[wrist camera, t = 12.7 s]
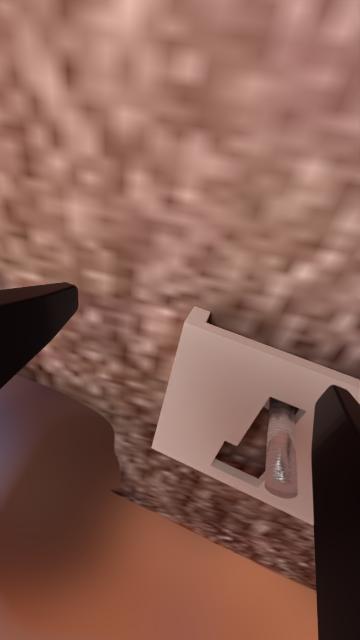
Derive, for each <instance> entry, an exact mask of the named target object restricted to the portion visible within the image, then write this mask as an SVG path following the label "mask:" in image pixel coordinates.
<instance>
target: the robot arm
mask: <svg viewBox="0 0 360 640" xmlns="http://www.w3.org/2000/svg"><path fill="white" fill-rule="evenodd" d="M78 305H79V304H78V289H77V287H76V286H75V285H72V284H70V283H67V282H63V283H54V284H46V285H38V286H30V287H21V288H13V289H5V290H0V389H1V388H2V387H3V386H4V385H5V384H6V383H7V382H8V381H9V380H10V379H11V378H12V377H13V376H14V375H16V374H17V373H18V372H19V371H20V370H21V369H22V368H23V367H24V366H25V365H26V364H27V363H28V362H29V361H30V360H31V359H32V358H33V357H34V356H36V355H37V354H38V353H39V352H40V351H41V350H42V349H43V348H44V347H45V346H46V345H47V344H48V343H49V342H50V341H51V340H52V339H53V338H54V337H55V336H56V334H57V333H58V332H59V331H60V330H61V329H62V327H63V326H64V325H65V324H66V323H67V322H68V320H69V319H70V318H71V317H72V316H73V315H74V313H75V312H76V311H77V309H78ZM311 467H312V491H313V516H314V541H315V565H316V590H317V615H318V638H319V639H318V640H360V404H359V403H358V402H357V400H356V399H355V398H354V397H353V396H352V395H351V393H350V392H349V391H348V390H346V389H344V388H342V387H339V386H337V385H330V386H329V387H328V388H327V389H326V391H325V392H324V393H323V394H322V395H321V396H320V398H319V399H318V400H317V402H316V404H315V409H314V422H313V434H312V446H311Z"/></svg>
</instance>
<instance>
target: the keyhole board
mask: <svg viewBox="0 0 360 640" xmlns="http://www.w3.org/2000/svg"><path fill="white" fill-rule="evenodd" d="M209 315H210V311H207V310H204V309H201V308H199V307H196V306H194V308H193V309H192V311H191V312H190V314H189V316H188V317H187V319H186V320H185V322H184V326H183V330H182V333H181V337H180V341H179V345H178V349H177V352H176V356H175V360H174V364H173V368H172V372H171V375H170V379H169V383H168V387H167V391H166V395H165V398H164V402H163V406H162V410H161V414H160V418H159V421H158V425H157V429H156V433H155V437H154V440H153V444H152V448H153V449H155V450H157V451H159V452H161V453H163V454H165V455H167V456H169V457H171V458H173V459H175V460H178V461H180V462H182V463H184V464H186V465H188V466H190V467H192V468H194V469H196V470H198V471H200V472H203V473H205V474H207V475H209V476H211V477H213V478H215V479H217V480H219V481H221V482H223V483H225V484H228V485H230V486H232V487H234V488H236V489H238V490H240V491H242V492H244V493H246V494H248V495H250V496H253V497H255V498H257V499H259V500H261V501H263V502H265V503H267V504H269V505H271V506H273V507H275V508H278V509H280V510H282V511H284V512H286V513H288V514H290V515H292V516H294V517H296V518H298V519H300V520H303V521H305V522H307V523H309V524H311V525H314V516H313V491H312V467H311V446H312V434H313V422H314V409H315V404H316V402H317V400H318V399H319V398H320V396H321V395H322V394H323V393H324V392H325V391H326V389H327V388H328V387H329V386H330V385H337V386H339V387H342V388H344V389H346V390H348V391H349V392H350V393H351V395H352V396H353V397H354V398H355V399H356V400H357V402H358V403H359V404H360V380H359V379H356V378H354V377H351V376H348V375H346V374H343V373H340V372H338V371H335V370H332V369H330V368H327V367H324V366H321V365H319V364H316V363H313V362H311V361H308V360H305V359H303V358H300V357H297V356H295V355H292V354H289V353H286V352H284V351H281V350H278V349H276V348H273V347H270V346H268V345H265V344H262V343H260V342H257V341H254V340H252V339H249V338H246V337H243V336H241V335H238V334H235V333H233V332H230V331H227V330H225V329H222V328H219V327H217V326H214V325H211V324H209V323H207V321H208V318H209ZM269 397H273V398H275V399H277V400H280V401H282V402H285V403H287V404H290V405H292V406H295V407H297V408H300V409H299V411H298V412H297V413H296V414H295V415H294V420H295V442H296V464H297V486H298V495H297V496H296V497H295V498H291V499H285V498H280V497H277V496H275V495H273V494H271V493H269V492H268V491H267V490H266V488H265V486H264V484H265V472H264V473H263V474H262V475H261V476H260V478H259V479H258V478H255V477H253V476H251V475H249V474H247V473H245V472H243V471H240V470H238V469H236V468H234V467H232V466H230V465H227V464H225V463H223V462H221V461H219V460H217V459H215V457H216V455H217V453H218V452H219V450H220V448H221V447H222V445H223V443H224V441H227V442H229V443H231V444H233V445H236V446H238V444H239V443H240V441H241V440H242V438H243V436H244V435H245V433H246V432H247V430H248V429H249V427H250V426H251V424H252V423H253V421H254V420H255V418H256V417H257V415H258V414H259V412H260V411H261V409H262V408H263V406H264V405H265V403H266V401H267V400H268V398H269Z"/></svg>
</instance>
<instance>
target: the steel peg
mask: <svg viewBox="0 0 360 640" xmlns="http://www.w3.org/2000/svg"><path fill="white" fill-rule="evenodd" d="M264 407H265V408H267V409H268V410H269V415H268V432H267V449H266V466H265V484H264V486H265V488H266V490H267V491H268V492H269V493H271V494H273V495H275V496H277V497H280V498H285V499H291V498H295V497H296V496H297V495H298V486H297V464H296V442H295V420H294V413H297V412H298V411H299V409H300V408H297V407H295V406H292V405H290V404H287V403H285V402H282V401H280V400H277V399H275V398H273V397H269V398H268V400H267V401H266V403H265V405H264Z"/></svg>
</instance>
